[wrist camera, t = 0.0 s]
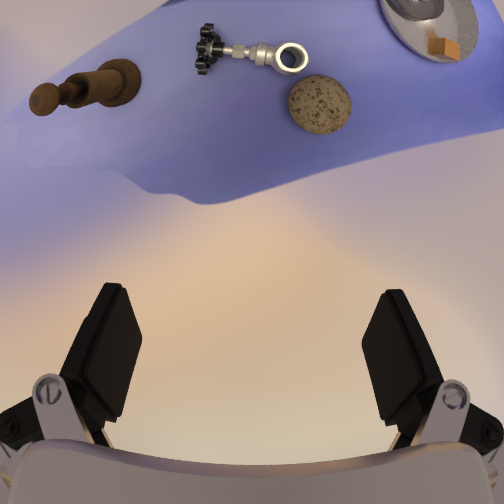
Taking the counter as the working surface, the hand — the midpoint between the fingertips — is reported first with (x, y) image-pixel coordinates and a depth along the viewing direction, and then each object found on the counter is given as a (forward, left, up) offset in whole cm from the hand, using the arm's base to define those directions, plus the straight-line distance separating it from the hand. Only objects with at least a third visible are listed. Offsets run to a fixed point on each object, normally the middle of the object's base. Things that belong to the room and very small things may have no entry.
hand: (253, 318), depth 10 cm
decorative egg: (-5, +7, -31) cm, 33 cm away
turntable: (-22, +23, -30) cm, 44 cm away
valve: (-10, 0, -32) cm, 33 cm away
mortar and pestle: (-8, -18, -31) cm, 37 cm away
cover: (-22, +19, -28) cm, 40 cm away
